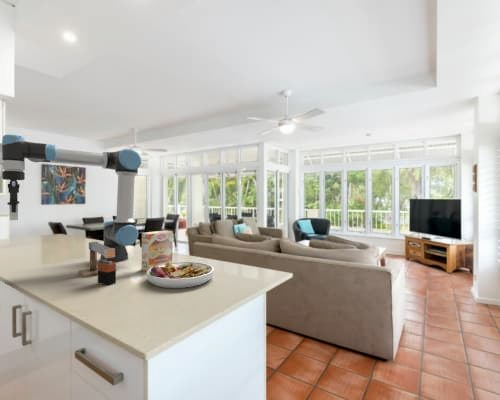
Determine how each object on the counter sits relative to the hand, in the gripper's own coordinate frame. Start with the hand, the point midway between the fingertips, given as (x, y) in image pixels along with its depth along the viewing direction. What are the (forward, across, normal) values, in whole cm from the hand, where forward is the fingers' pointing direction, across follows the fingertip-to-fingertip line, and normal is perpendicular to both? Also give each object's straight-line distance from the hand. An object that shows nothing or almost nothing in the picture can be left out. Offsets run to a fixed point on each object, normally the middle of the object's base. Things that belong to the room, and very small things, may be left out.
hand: (13, 219), depth 122 cm
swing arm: (+16, +18, +31) cm, 39 cm away
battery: (+28, +27, +31) cm, 50 cm away
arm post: (+28, +7, +30) cm, 41 cm away
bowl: (+28, +42, +60) cm, 78 cm away
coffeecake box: (+28, +16, +58) cm, 67 cm away
